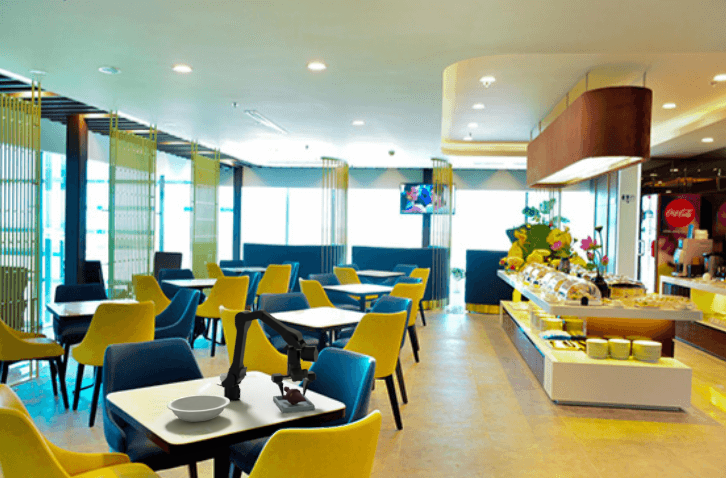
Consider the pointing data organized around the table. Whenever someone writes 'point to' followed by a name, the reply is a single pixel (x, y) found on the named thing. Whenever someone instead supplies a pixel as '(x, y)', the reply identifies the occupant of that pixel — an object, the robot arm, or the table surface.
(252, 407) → the table surface
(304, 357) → the robot arm
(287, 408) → the tray
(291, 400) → the icecream
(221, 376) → the teacup
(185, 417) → the soup bowl
